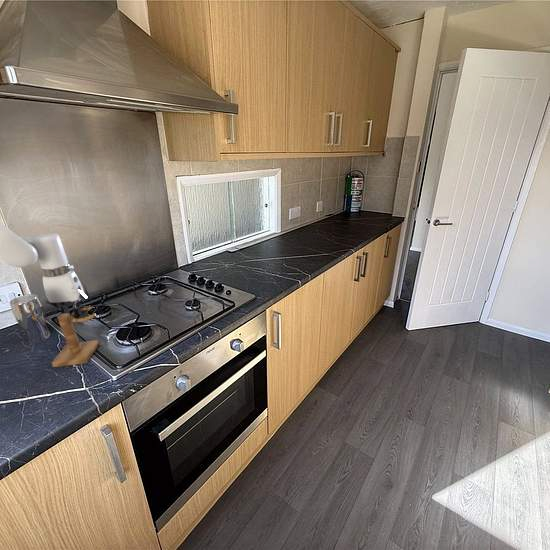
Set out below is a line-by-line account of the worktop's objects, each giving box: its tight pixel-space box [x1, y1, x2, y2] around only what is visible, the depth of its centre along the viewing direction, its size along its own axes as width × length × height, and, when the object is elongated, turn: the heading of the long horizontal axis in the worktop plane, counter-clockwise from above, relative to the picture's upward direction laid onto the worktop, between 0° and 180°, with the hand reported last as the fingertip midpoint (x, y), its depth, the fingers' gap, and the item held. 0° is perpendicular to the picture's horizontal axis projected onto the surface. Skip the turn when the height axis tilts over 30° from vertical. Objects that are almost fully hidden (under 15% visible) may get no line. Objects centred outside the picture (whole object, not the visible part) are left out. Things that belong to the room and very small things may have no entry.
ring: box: [70, 306, 96, 323], centre depth 106 cm, size 10×10×2 cm
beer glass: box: [9, 293, 52, 345], centre depth 90 cm, size 7×7×15 cm
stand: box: [51, 313, 100, 368], centre depth 83 cm, size 9×9×14 cm
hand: (73, 316), depth 105 cm, fingers open, 3 cm apart
